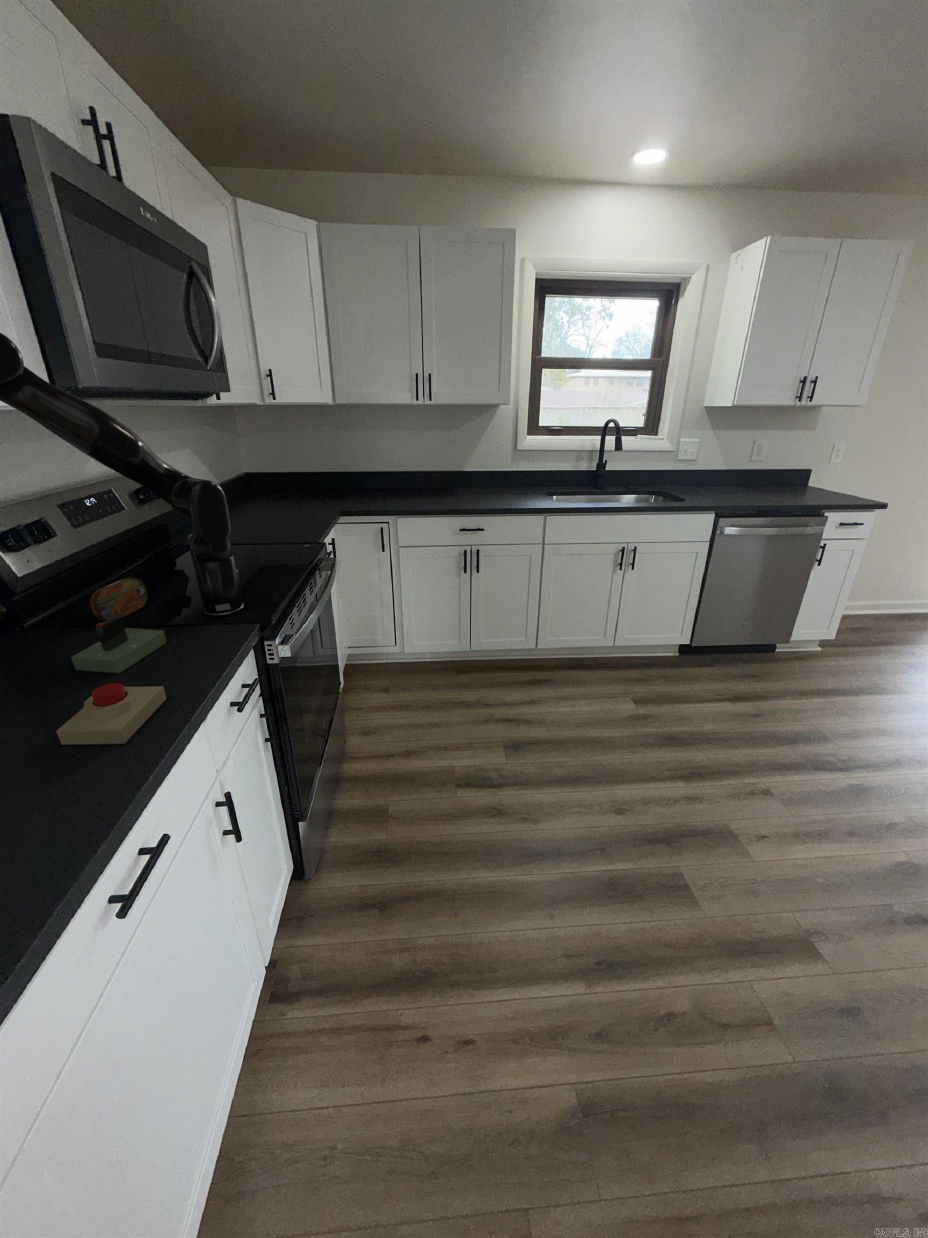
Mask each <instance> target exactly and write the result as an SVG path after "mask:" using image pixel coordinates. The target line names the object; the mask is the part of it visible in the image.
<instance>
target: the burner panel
mask: <svg viewBox="0 0 928 1238" xmlns="http://www.w3.org/2000/svg"><path fill="white" fill-rule="evenodd" d="M124 628H125V631H126V635H127V638H128V640H127V641H125V642H124V643H122V644H120V645H119V646H117V647H115V648H114V649H112V650H110V651H108V650H103V648H102V645H101V642H100V640H99V641H98V642H96V643H94V644H92V645H91V646H88V647H87V648H84V649H83V650H81V651H79V652H77V653H76V654H74V655H72V656H70V658H71V661H72V664H73V666H74V669H75V670H76V671H86V672H95V673H96V672H97V673H109V674H121V673H122V672H124V671H125V670H127V669H128V668H130V667H131V666H133V665H135V664H136V663H138V662H139V661H141V660H142V659H143V658H145V657H147V656H148V655H150V654H151V653H153V652H155V651H156V650H157V649H159V648H161V647H163V646H164V645H166V644H167V643H168V641H167V637H166V633H165V630H161V629H148V628H146V629H145V628H132V627H124Z"/></svg>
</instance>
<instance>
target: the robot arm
mask: <svg viewBox="0 0 928 1238" xmlns="http://www.w3.org/2000/svg"><path fill="white" fill-rule="evenodd" d="M0 402H2V403H4V404H5V405H8V406H10V407H11V408H14V409H15V410H17V411H19V412H20V413H22V414H24V415H26V416H27V417H29V418H31V419H32V420H33V421H35V422H36V423H38V424H39V425H41V426H42V427H44V428H45V429H46V430H48V431H50V432H51V433H52V434H54V435H55V436H57V437H58V438H60V439H62V441H64V442H66V443H68V444H69V445H71V446H72V447H73V448H75V449H77V450H79V452H82V453H83V454H84V455H86V456H88V457H90V458H91V459H93V460H95V461H96V462H98V463H100V464H101V465H103V466H105V467H107V468H108V469H110V470H112V471H114V472H116V473H117V474H119V475H121V476H123V477H125V478H127V479H129V480H131V481H132V482H134V483H137V484H138V485H140V486H142V487H144V488H146V489H147V490H149V491H150V492H152V493H153V494H155V495H156V496H157V497H158V498H160V499H162V500H163V501H164V502H165V503H167V504H168V505H170V506H171V507H172V508H173V509H174V510H176V511H178V512H179V513H181V514H183V515H185V516H186V517H190V519H191V525H192V529H193V531H192V533H191V534H189V535H188V536H187V544H188V548H189V552H190V557H191V560H192V564H193V565H192V566H193V569H194V573H195V577H196V581H197V585H198V589H199V595H200V597H201V602H202V607H203V612H204V614H205V616H208V617H226V616H231V615H234V614H236V613H239V612H240V611H242V610H243V609H244V608H245V605H244V604H246V603H245V598H244V593H243V588H242V583H241V578H240V574H239V570H238V569H237V568H236V563H235V558H234V553H233V548H232V543H231V533H232V525H231V517H230V511H229V506H228V500H227V497H226V494H225V491H224V490H223V488H222V487H221V486H220V485H219V484H218V483H216V482H215V481H212V480H209V479H203V478H196V477H193V476H190V475H188V474H185V473H184V472H182V471H180V470H178V469H177V468H176V467H174V466H172V465H170V464H169V463H167V462H166V461H164V460H163V459H162V458H161V457H160V456H159V455H158V454H157V453H156V452H155V451H154V450H153V449H152V447H151V446H150V445H149V444H148V443H147V442H146V441H145V440H144V439H143V438H142V436H141V435H139V434H138V433H137V432H136V431H134V430H133V429H131V428H130V427H129V426H128V425H126V424H124V423H123V422H122V421H120V420H119V419H117V418H116V417H114V416H113V415H111V414H110V413H108V412H106V411H105V410H104V409H101V408H100V407H98V406H96V405H93V404H92V403H90V402H88V401H86V400H84V399H82V398H80V397H78V396H76V395H74V394H71V393H70V392H67V391H65V390H63V389H61V388H59V387H57V386H55V385H53V384H51V383H50V382H48V381H47V380H45V379H44V378H43V377H41V376H39V375H38V374H36V373H35V372H33V370H30V369H29V368H28V367H27V366H25V361H24V357H23V355H22V352H21V350H20V349H19V347H18V346H17V344H15V342H14V341H13V340H12V339H11V338H10V337H8V336H7V335H6V334H4V333H2V332H0ZM7 612H8V611H7V609H6V608H5V606H4V605H3V604H1V603H0V620H1V619H3V618H4V616H5V615H6V613H7Z"/></svg>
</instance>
